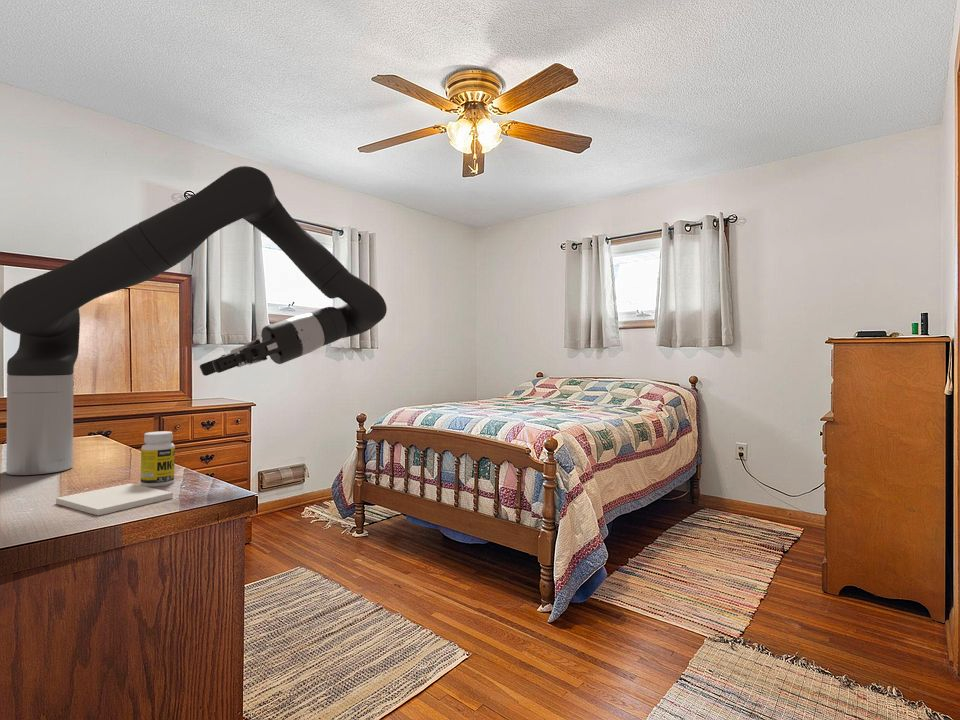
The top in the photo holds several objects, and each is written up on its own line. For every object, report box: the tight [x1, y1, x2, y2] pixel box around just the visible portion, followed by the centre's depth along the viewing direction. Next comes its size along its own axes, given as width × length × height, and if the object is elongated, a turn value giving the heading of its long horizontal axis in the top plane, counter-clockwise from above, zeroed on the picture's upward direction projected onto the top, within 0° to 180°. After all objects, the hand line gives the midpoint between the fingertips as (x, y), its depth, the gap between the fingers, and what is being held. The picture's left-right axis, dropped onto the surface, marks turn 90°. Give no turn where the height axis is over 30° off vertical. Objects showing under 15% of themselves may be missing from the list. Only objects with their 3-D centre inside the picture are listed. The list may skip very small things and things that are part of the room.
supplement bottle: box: [140, 430, 176, 488], centre depth 87 cm, size 5×5×8 cm
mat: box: [55, 482, 174, 516], centre depth 77 cm, size 11×10×1 cm
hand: (207, 369), depth 91 cm, fingers open, 8 cm apart
